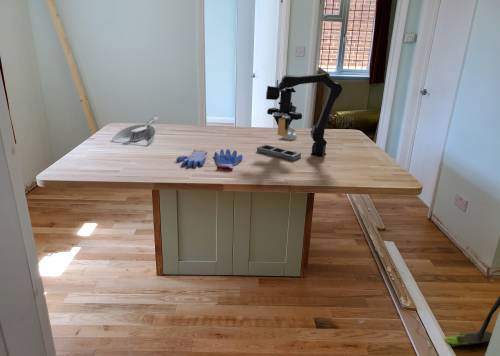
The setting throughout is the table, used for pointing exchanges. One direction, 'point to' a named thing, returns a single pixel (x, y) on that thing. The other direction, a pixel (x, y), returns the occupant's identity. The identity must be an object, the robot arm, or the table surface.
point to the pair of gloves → (223, 160)
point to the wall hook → (290, 134)
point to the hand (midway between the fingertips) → (283, 129)
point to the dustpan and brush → (137, 133)
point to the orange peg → (282, 127)
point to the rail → (279, 152)
